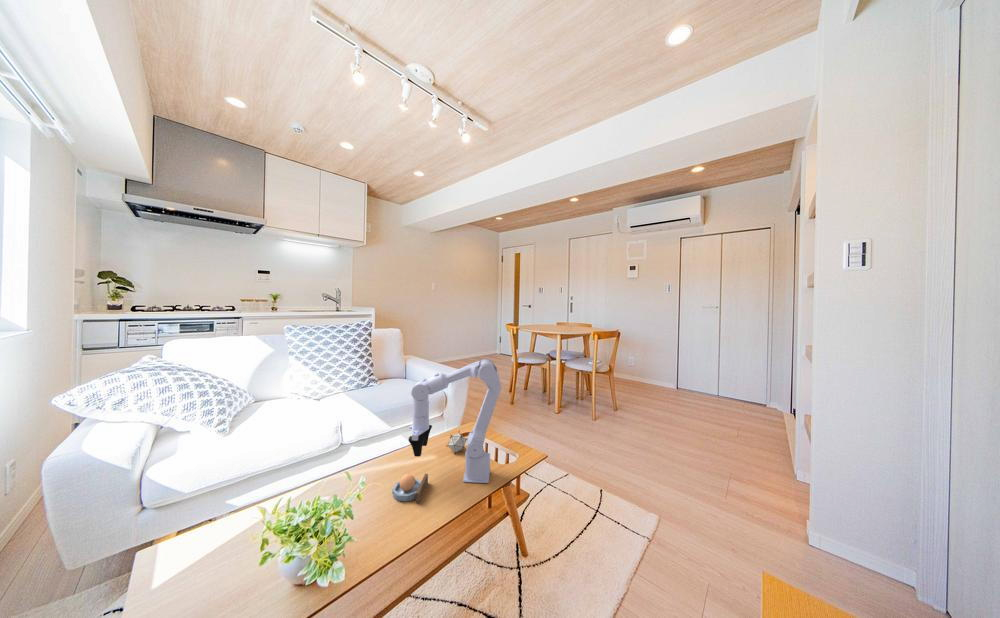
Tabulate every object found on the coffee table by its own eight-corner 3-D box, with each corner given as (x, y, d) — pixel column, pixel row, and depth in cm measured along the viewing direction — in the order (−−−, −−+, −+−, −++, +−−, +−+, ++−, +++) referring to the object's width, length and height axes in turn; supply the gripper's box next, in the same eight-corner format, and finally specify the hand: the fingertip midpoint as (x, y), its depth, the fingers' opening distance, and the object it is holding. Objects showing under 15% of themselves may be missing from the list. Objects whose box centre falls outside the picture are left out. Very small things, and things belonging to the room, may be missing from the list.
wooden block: (427, 483, 110) (427, 473, 110) (418, 503, 99) (418, 493, 99) (425, 483, 110) (425, 473, 110) (415, 503, 99) (415, 493, 99)
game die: (453, 461, 132) (439, 445, 129) (458, 445, 139) (445, 430, 137) (469, 455, 129) (455, 439, 126) (474, 439, 136) (460, 423, 134)
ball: (417, 486, 107) (417, 471, 107) (412, 494, 102) (412, 479, 102) (402, 485, 108) (402, 471, 108) (397, 494, 102) (397, 479, 102)
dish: (425, 484, 109) (425, 479, 109) (416, 502, 100) (416, 496, 100) (399, 483, 110) (399, 478, 110) (388, 501, 100) (388, 495, 100)
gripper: (416, 407, 120) (416, 440, 120) (403, 422, 105) (403, 460, 106) (434, 407, 119) (433, 441, 120) (423, 422, 105) (423, 461, 106)
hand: (420, 450), depth 113 cm, fingers open, 7 cm apart
